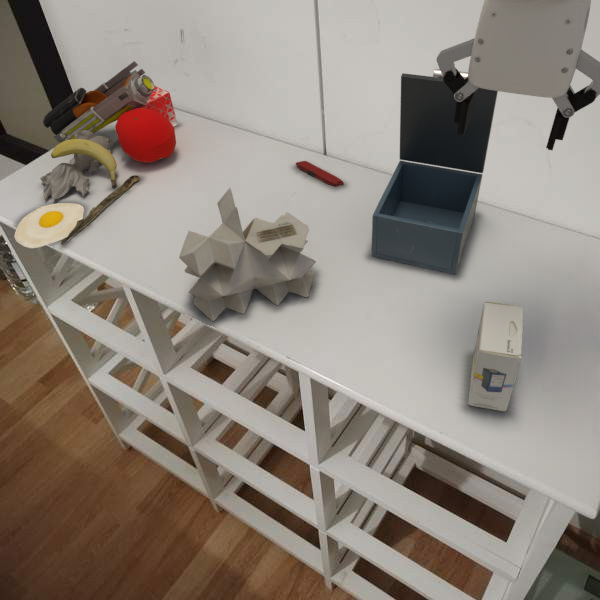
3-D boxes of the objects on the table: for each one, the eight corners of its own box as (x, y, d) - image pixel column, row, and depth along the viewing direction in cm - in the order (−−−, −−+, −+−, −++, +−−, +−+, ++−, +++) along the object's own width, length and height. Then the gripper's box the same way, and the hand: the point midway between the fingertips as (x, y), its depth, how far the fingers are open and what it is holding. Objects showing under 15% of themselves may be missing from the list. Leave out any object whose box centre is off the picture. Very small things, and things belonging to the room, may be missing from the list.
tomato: (96, 129, 113) (117, 168, 121) (149, 137, 109) (167, 177, 117) (126, 95, 119) (144, 134, 127) (177, 101, 114) (192, 142, 123)
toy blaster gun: (115, 70, 108) (129, 42, 115) (36, 131, 121) (52, 103, 127) (152, 106, 114) (163, 78, 120) (73, 161, 127) (86, 133, 133)
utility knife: (301, 162, 116) (294, 167, 115) (300, 157, 115) (293, 162, 114) (344, 185, 110) (337, 190, 109) (344, 180, 109) (337, 185, 108)
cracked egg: (76, 242, 104) (74, 236, 103) (8, 251, 104) (5, 245, 103) (87, 199, 113) (84, 194, 112) (24, 207, 113) (21, 202, 112)
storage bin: (455, 274, 92) (462, 233, 85) (371, 256, 96) (372, 215, 90) (474, 215, 101) (482, 174, 95) (397, 200, 106) (399, 160, 99)
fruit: (115, 189, 115) (117, 180, 113) (48, 161, 111) (49, 151, 109) (127, 164, 119) (129, 155, 117) (62, 136, 115) (64, 126, 113)
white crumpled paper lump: (205, 224, 75) (193, 163, 85) (164, 320, 86) (157, 256, 96) (348, 257, 86) (322, 199, 96) (295, 339, 96) (277, 279, 106)
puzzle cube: (118, 96, 124) (140, 107, 120) (147, 81, 128) (169, 92, 124) (129, 129, 130) (150, 140, 126) (156, 114, 134) (177, 124, 130)
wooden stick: (59, 245, 104) (54, 237, 102) (136, 176, 117) (133, 168, 116) (65, 248, 103) (61, 239, 102) (142, 178, 116) (139, 170, 115)
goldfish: (78, 198, 109) (35, 165, 106) (62, 224, 116) (21, 194, 113) (131, 147, 123) (94, 116, 120) (113, 173, 129) (78, 145, 127)
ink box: (505, 413, 75) (525, 359, 66) (465, 405, 76) (479, 351, 67) (508, 361, 80) (526, 304, 71) (470, 354, 81) (484, 298, 72)
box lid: (497, 87, 81) (505, 65, 83) (400, 76, 85) (410, 55, 88) (482, 173, 94) (489, 152, 97) (399, 159, 99) (407, 139, 101)
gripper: (650, -39, 51) (592, 131, 64) (457, -51, 57) (439, 108, 69) (646, -8, 47) (584, 168, 59) (437, -24, 52) (421, 140, 65)
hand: (506, 136), depth 64 cm, fingers open, 9 cm apart
